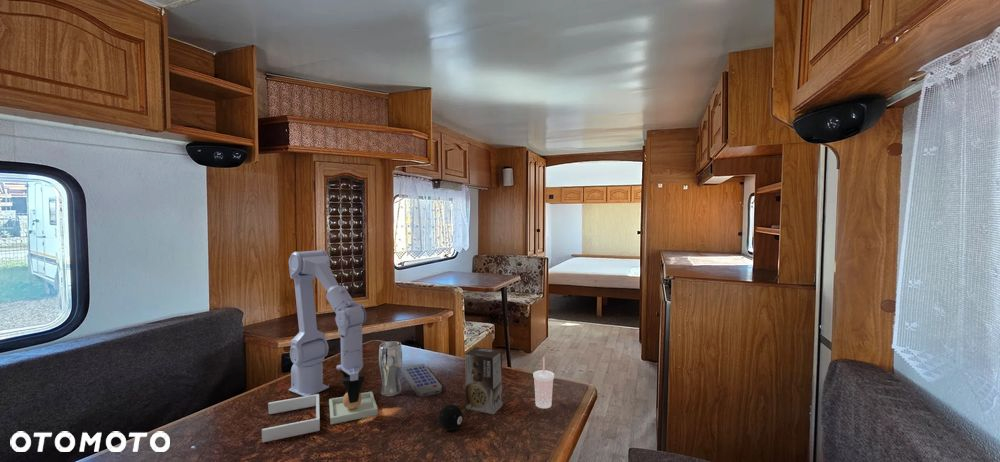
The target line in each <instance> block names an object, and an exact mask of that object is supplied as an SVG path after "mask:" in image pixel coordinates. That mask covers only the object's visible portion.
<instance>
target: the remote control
mask: <svg viewBox="0 0 1000 462" xmlns="http://www.w3.org/2000/svg"><path fill="white" fill-rule="evenodd" d="M401 372H402V374H403V375H404V377H405V378H406V380H407V381H408V383H409V384H410V386H411V388H412V389H413V391H414V392H415V394H416V395H417V396H418V397H427V396H428V397H429V396H433V395H437V394H441V393H442V390H443V386H442V384H441V383H440V382H439V381H438V379H437V378H436V376H435V375H434V374H433V373H432V372H431V371H430V369H429V368H428V367H427V366H426V365H425V363H420V364H413V365H409V366H402V367H401Z"/></svg>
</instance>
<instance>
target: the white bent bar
mask: <svg viewBox="0 0 1000 462" xmlns="http://www.w3.org/2000/svg"><path fill="white" fill-rule="evenodd" d="M267 407H268V415H273V414H279V413H285V412H291V411H294V410H296V411H297V410H300V409H307V408H311V407H315V418H311V419H307V420H306V419H305V420H302V421H296V422H292V423H290V422H289V423H286V424H285V423H284V424H280V425H276V426H270V427H266V428H261V443H262V444H263V443H266V442H267V443H268V442H271V441H276V440H282V439H285V438H290V437H291V438H292V437H296V436H301V435H304V434H305V435H306V434H309V433H315V432H319V431H320V429H321V427H320V426H321V423H320V422H321V420H320V414H321V413H320V394H319V393H316V394H313V395H310V396H299V397H294V398H288V399H282V400H276V401H270V402H268V403H267Z"/></svg>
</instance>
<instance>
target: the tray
mask: <svg viewBox="0 0 1000 462" xmlns="http://www.w3.org/2000/svg"><path fill="white" fill-rule="evenodd" d="M360 394H361V396H362V400H361V403H360V405H359V406H358V407H356V408H354V409H348V408H346V407H345V406H344V404H343V397H344V396H340V397H332V398H329V399H328V405H329V406H328V407H329V418H330V420H329V421H330V422H329V423H330V425H336V424H340V423H345V422H349V421H354V420H361V419H364V418H369V417H375V416H378V415H379V413H378V412H379V410H378V409H379V408H378V405H377V402H376V400H375V396H374V393H373V390H372V391H368V392H367V391H366V392H360Z"/></svg>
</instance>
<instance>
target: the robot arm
mask: <svg viewBox="0 0 1000 462" xmlns="http://www.w3.org/2000/svg"><path fill="white" fill-rule="evenodd" d="M288 269H289V277H290V279H292V280H294V290H295V292H294V294H295V301H296V311H297V321H298V333H297V334H296V335H295V336H294V337H293V338H292V339H291V340H290V349H289V357H290V361H291V363H292V366H291V369H290V383H291V387H290V388H289V389H288V391H289V392H292V393H294V394H297V395H299V396H301V397H304V396H310V395H315V394H319V393H320V392H323V391H324V390H328V389H329V388H330V386H329V385H326V384H324V377H323V376H324V374H323V373H324V372H323V361H325V357H327V356H328V353H329V343H328V341H327V338H326V334H325V333H324V332H322V331H321V330H318V325H317V324H318V323H317V315H316V314H317V313H316V304H315V294H314V284H313V281H314V279H315V278H316V280H318V282H319V283H320V284H321V285H322V287H323V288H324V290H325V291H326V294H325V298H326V301H328V303H329V306H330V307H331V308H332V310H333V311H334V313H335V317H334V318H335V319H334V320H335V323H336V326H337V332H338V334H339V335H340V364H338V365H336V370H338V371H339V370H340V372H341V373H342V375H343V377H342V378H341V379H342V383H343V385H344V387H345V389H346V393H348V398H349V402H350V403H354V402H358V399H359V394H360V393H361V388H362V385H363V383H364V381H365V375H362V376H361V375H360V376H359V373H360V372H361V370H362V369H363V367H364V361H363V359H364V357H363V325H364V324H365V323H366V321H367V311H366V309H365V307H364V305H362V304H360V303H359V302H356V301H354V299H353V297H352V296H351V295H350V293H349V292H348V290H347V288H346V287H345V286H343V285H339V283H338V281H337V279H336V277H335V275H334V274H333V272H332V269H331V267H330V257H329V254H328V252H327V251H326V250H325V249H319V250H307V251H294V252H292V253H291V254H290V257H289V258H288Z"/></svg>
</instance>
